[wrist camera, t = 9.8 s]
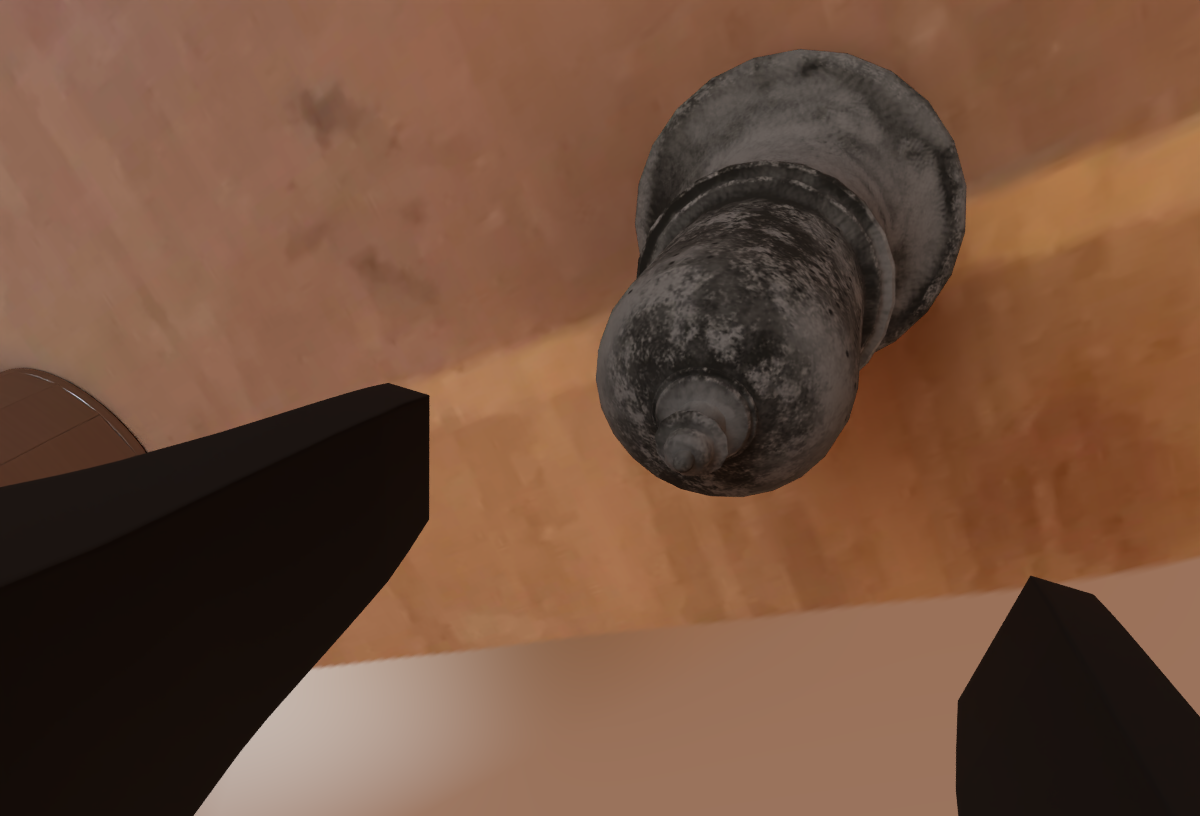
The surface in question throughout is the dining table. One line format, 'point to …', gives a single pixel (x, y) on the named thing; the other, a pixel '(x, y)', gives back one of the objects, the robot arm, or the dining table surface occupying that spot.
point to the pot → (55, 428)
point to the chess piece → (775, 266)
